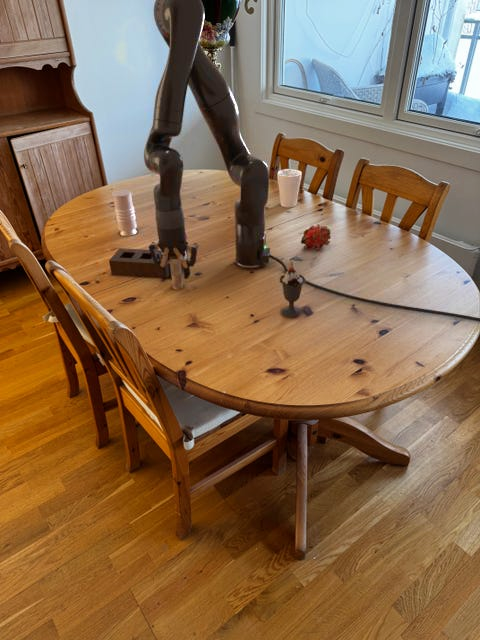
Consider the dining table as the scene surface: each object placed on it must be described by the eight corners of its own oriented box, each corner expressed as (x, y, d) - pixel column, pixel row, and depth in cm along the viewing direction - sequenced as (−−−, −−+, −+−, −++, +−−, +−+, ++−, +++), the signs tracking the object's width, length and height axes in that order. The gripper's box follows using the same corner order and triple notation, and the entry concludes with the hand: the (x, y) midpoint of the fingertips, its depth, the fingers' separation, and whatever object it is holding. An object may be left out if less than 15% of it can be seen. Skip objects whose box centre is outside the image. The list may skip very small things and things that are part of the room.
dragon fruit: (331, 248, 159) (303, 261, 156) (318, 228, 161) (290, 240, 158) (341, 235, 151) (311, 249, 148) (327, 214, 153) (297, 227, 150)
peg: (184, 284, 138) (181, 251, 132) (181, 290, 135) (178, 256, 129) (174, 284, 139) (170, 250, 132) (171, 289, 136) (166, 255, 130)
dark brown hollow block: (185, 265, 148) (183, 251, 145) (177, 279, 141) (176, 264, 138) (122, 262, 151) (119, 248, 148) (111, 275, 144) (108, 260, 141)
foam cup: (273, 202, 192) (274, 170, 185) (294, 199, 194) (295, 168, 187) (282, 210, 185) (283, 177, 177) (303, 207, 187) (305, 174, 180)
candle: (139, 234, 169) (133, 194, 160) (120, 237, 167) (113, 197, 158) (136, 227, 174) (129, 188, 166) (117, 230, 172) (110, 191, 164)
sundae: (287, 302, 129) (289, 254, 120) (308, 310, 125) (311, 261, 116) (273, 313, 124) (274, 263, 116) (294, 322, 121) (297, 271, 112)
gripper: (140, 226, 123) (149, 282, 133) (192, 229, 121) (197, 285, 131) (149, 216, 130) (157, 269, 139) (199, 218, 127) (203, 272, 137)
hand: (176, 276), depth 135 cm, fingers open, 5 cm apart
